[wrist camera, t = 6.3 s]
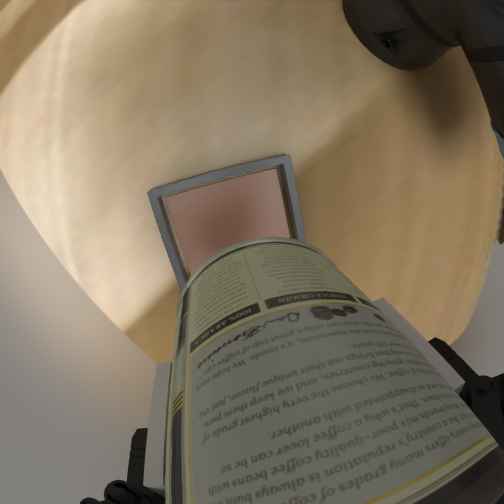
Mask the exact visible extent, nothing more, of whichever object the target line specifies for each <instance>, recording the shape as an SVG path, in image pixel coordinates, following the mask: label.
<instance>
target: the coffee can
mask: <svg viewBox="0 0 504 504" xmlns="http://www.w3.org/2000/svg"><path fill="white" fill-rule="evenodd" d="M503 493H504V450H502V449H501V448H500V446H499V445H498V444H497V442H496V441H495V439H494V438H493V437H492V436H491V434H490V433H489V432H488V430H487V429H486V428H485V427H484V425H483V424H482V423H481V422H480V420H479V419H478V418H477V417H476V415H475V414H474V413H473V412H472V411H471V409H470V408H469V407H468V406H467V405H466V403H465V402H464V401H463V400H462V399H461V397H460V396H459V395H458V394H457V393H456V392H455V390H454V389H453V388H452V387H451V386H450V385H449V383H448V382H447V381H446V380H445V379H444V378H443V377H442V376H441V374H440V373H439V372H438V371H437V370H436V369H435V368H434V367H433V365H432V364H431V363H430V362H429V361H428V360H427V359H426V358H425V357H424V355H423V354H422V353H421V352H420V351H419V350H418V349H417V348H416V347H415V346H414V345H413V344H412V342H411V341H410V340H409V339H408V338H407V337H406V336H405V335H404V334H403V333H402V332H401V331H400V330H399V329H398V328H397V327H396V326H395V325H394V324H393V323H392V321H391V320H390V319H389V318H388V317H387V316H386V315H385V314H384V313H382V311H381V310H380V309H379V308H378V307H377V306H376V305H375V304H374V303H373V302H372V301H371V300H370V299H369V298H368V297H367V296H366V295H365V294H364V293H363V292H362V291H361V290H360V289H359V288H358V287H356V286H355V285H354V284H353V283H352V282H351V281H350V280H349V279H348V278H347V277H346V276H345V275H344V274H343V273H342V272H341V271H340V270H339V269H338V268H337V267H336V265H335V264H334V263H333V262H332V261H331V259H330V258H329V257H327V256H326V255H325V254H324V253H323V252H321V251H320V250H318V249H317V248H315V247H313V246H311V245H309V244H307V243H305V242H302V241H300V240H297V239H292V238H283V237H261V238H253V239H249V240H245V241H242V242H239V243H236V244H233V245H231V246H229V247H227V248H225V249H223V250H220V251H218V252H217V253H215V254H214V255H213V256H212V257H211V258H209V259H208V260H206V261H205V262H204V263H203V264H202V265H201V266H200V267H199V268H198V269H197V270H196V271H195V272H194V273H193V274H192V276H191V277H190V278H189V280H188V281H187V283H186V285H185V287H184V289H183V291H182V293H181V295H180V298H179V302H178V305H177V326H176V335H175V344H174V353H173V362H172V372H171V383H170V395H169V408H168V424H167V441H166V472H165V504H494V503H495V502H496V501H497V500H498V499H499V498H500V497H501V496H502V494H503Z"/></svg>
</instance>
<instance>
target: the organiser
mask: <svg viewBox="0 0 504 504" xmlns="http://www.w3.org/2000/svg"><path fill="white" fill-rule="evenodd" d="M276 165H279V166H280V171H281V175H282V180H283V185H284V190H285V195H286V200H287V205H288V210H289V215H290V220H291V225H292V231H293V236H294V239H297V240H300V241H302V242H305V243H306V239H305V233H304V227H303V221H302V215H301V210H300V204H299V199H298V194H297V188H296V183H295V178H294V173H293V168H292V163H291V159H290V155H289V154H283V155H278V156H273V157H269V158H264V159H260V160H255V161H251V162H247V163H243V164H239V165H235V166H231V167H227V168H223V169H219V170H215V171H211V172H208V173H204V174H200V175H197V176H193V177H190V178H186V179H183V180H180V181H176V182H173V183H170V184H167V185H163V186H160V187H157V188H154V189H151V190H150V191H148V192H147V193H148V196H149V199H150V203H151V206H152V209H153V212H154V215H155V218H156V222H157V225H158V228H159V231H160V234H161V237H162V240H163V242H164V245H165V248H166V251H167V254H168V257H169V259H170V262H171V265H172V268H173V270H174V273H175V276H176V278H177V281H178V284H179V286H180V289H181V292H182V291H183V289H184V287H185V285H186V283H187V281H188V277H187V274H186V272H185V269H184V266H183V263H182V260H181V257H180V255H179V252H178V249H177V246H176V243H175V240H174V237H173V234H172V231H171V227H170V224H169V221H168V218H167V215H166V212H165V208H164V205H163V202H162V199H161V196H163V195H166V194H169V193H173V192H176V191H179V190H183V189H186V188H189V187H193V186H196V185H200V184H204V183H207V182H211V181H214V180H218V179H222V178H226V177H230V176H234V175H238V174H242V173H246V172H250V171H254V170H258V169H262V168H267V167H271V166H276ZM166 201H167V204H168V208H169V211H170V214H171V217H172V221H173V224H174V227H175V230H176V233H177V236H178V239H179V242H180V245H181V248H182V251H183V254H184V257H185V260H186V263H187V266H188V269H189V272H190V275H191V276H192V274H193V273H194V272H195V271H196V270H197V269H198V268H199V267H200V266H201V265H202V264H203V263H204V262H205V261H206V260H208V259H209V258H211V257H212V256H213V255H214V254H215V253H217V252H218V251H220V250H223V249H225V248H227V247H229V246H231V245H233V244H236V243H239V242H242V241H245V240H249V239H253V238H261V237H283V238H290V235H289V229H288V224H287V219H286V214H285V209H284V204H283V199H282V194H281V189H280V185H279V180H278V175H277V171H276V168H274V169H270V170H266V171H261V172H257V173H253V174H249V175H245V176H241V177H237V178H233V179H229V180H225V181H221V182H217V183H214V184H210V185H206V186H203V187H199V188H196V189H192V190H189V191H185V192H182V193H179V194H175V195H172V196H169V197H166Z"/></svg>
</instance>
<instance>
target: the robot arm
mask: <svg viewBox="0 0 504 504" xmlns="http://www.w3.org/2000/svg"><path fill="white" fill-rule="evenodd" d="M343 6H344V11H345V15H346V17H347V20H348V22H349V24H350V26H351V28H352V29H353V31H354V32H355V34H356V35H357V36H358V38H359V39H360V40H361V41H362V43H363V44H364V45H365V46H366V47H367V48H368V49H369V50H370V51H371V52H372V53H374V54H375V55H376V56H377V57H379V58H380V59H381V60H383V61H384V62H386V63H388V64H390V65H392V66H394V67H396V68H399V69H403V70H417V69H421V68H425V67H428V66H430V65H432V64H433V63H434V62H436V61H437V60H438V59H439V58H440V57H441V56H443V55H444V54H445V53H446V52H447V51H448V50H450V49H451V48H452V47H456V46H461V47H462V49H463V51H464V53H465V55H466V57H467V59H468V61H469V64H470V66H471V68H472V70H473V72H474V75H475V77H476V79H477V82H478V84H479V86H480V89H481V92H482V95H483V97H484V100H485V103H486V106H487V109H488V112H489V115H490V119H491V122H490V124H491V127H492V130H493V131H494V133H495V135H496V139H497V142H498V145H499V149H500V152H501V155H502V157H503V159H504V0H343ZM373 303H374V304H375V305H376V306H377V307H378V308H379V309H380V310H381V311H382V313H384V314H385V315H386V316H387V317H388V318H389V319H390V320H391V321H392V323H393V324H394V325H395V326H396V327H397V328H398V329H399V330H400V331H401V332H402V333H403V334H404V335H405V336H406V337H407V338H408V339H409V340H410V341H411V342H412V344H413V345H414V346H415V347H416V348H417V349H418V350H419V351H420V352H421V353H422V354H423V355H424V357H425V358H426V359H427V360H428V361H429V362H430V363H431V364H432V365H433V367H434V368H435V369H436V370H437V371H438V372H439V373H440V374H441V376H442V377H443V378H444V379H445V380H446V381H447V382H448V383H449V385H450V386H451V387H452V388H453V389H454V390H455V392H456V393H457V394H458V395H459V396H460V397H461V399H462V400H463V401H464V402H465V403H466V405H467V406H468V407H469V408H470V409H471V411H472V412H473V413H474V414H475V415H476V417H477V418H478V419H479V420H480V422H481V423H482V424H483V425H484V427H485V428H486V429H487V430H488V432H489V433H490V434H491V436H492V437H493V438H494V439H495V441H496V442H497V444H498V445H499V446H500V448H501V449H502V450H504V373H503V374H500V375H498V376H495V377H492V378H491V377H488V376H479V375H477V374H476V373H475V372H474V371H473V370H472V369H471V368H470V367H469V366H468V365H467V364H466V362H465V361H464V360H462V358H461V357H460V356H459V355H457V354H456V352H455V351H454V350H452V348H451V347H450V346H449V345H448V344H447V343H446V342H444V341H442V340H440V339H438V338H436V337H435V338H433V339H432V340H430V341H428V342H427V340H426V339H425V338H424V337H423V336H422V335H421V334H420V333H419V332H418V331H417V330H416V329H415V328H414V327H413V326H412V325H411V324H410V323H409V322H408V321H407V320H406V319H405V318H404V317H403V316H402V315H401V314H399V313H398V312H397V311H396V310H395V309H394V308H393V307H392V306H391V305H390V304H389V303H388V302H387V301H386V300H385V299H384V298H380V299H378V300H375V301H373ZM171 372H172V362H171V361H169V362H164V363H159V364H157V367H156V373H155V379H154V386H153V393H152V401H151V408H150V416H149V424H148V428H142V429H137V430H136V432H135V434H134V435H133V437H132V442H131V450H130V458H129V466H128V475H127V482H125V481H123V480H115V481H112V482H111V483H109V484H108V485H107V487H106V488H105V491H104V498H105V500H104V501H98V500H96V499H93V498H86V499H83V500H82V501H81V502H80V504H165V472H166V441H167V424H168V408H169V395H170V383H171ZM494 504H504V493H503V494H502V496H501V497H500V498H499V499H498V500H497V501H496V502H495V503H494Z"/></svg>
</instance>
